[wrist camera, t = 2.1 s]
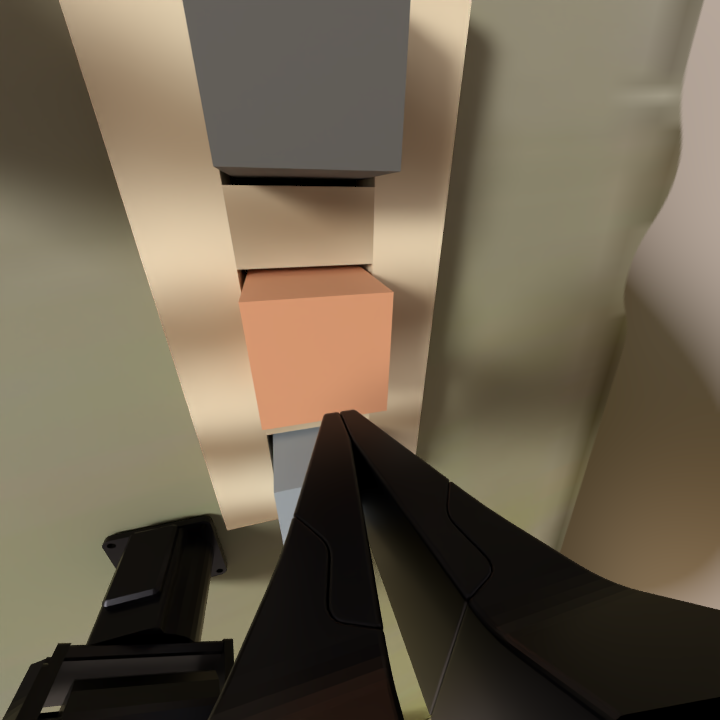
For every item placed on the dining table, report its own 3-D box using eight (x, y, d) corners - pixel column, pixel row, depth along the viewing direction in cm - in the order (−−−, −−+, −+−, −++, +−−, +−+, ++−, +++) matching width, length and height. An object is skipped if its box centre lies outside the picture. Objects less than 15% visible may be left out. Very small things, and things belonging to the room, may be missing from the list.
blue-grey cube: (357, 466, 21) (379, 535, 17) (282, 481, 20) (286, 559, 16) (357, 407, 19) (383, 470, 14) (272, 421, 18) (273, 492, 13)
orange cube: (357, 357, 17) (386, 410, 13) (264, 367, 16) (262, 430, 12) (357, 264, 15) (393, 292, 10) (248, 269, 14) (238, 302, 9)
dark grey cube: (357, 180, 13) (400, 171, 9) (233, 177, 12) (213, 166, 8) (358, 14, 11) (416, -108, 6) (203, -9, 10) (150, -174, 5)
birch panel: (396, 457, 24) (411, 489, 21) (232, 489, 21) (227, 530, 18) (434, -7, 12) (479, -63, 10) (77, -68, 9) (5, -170, 7)
